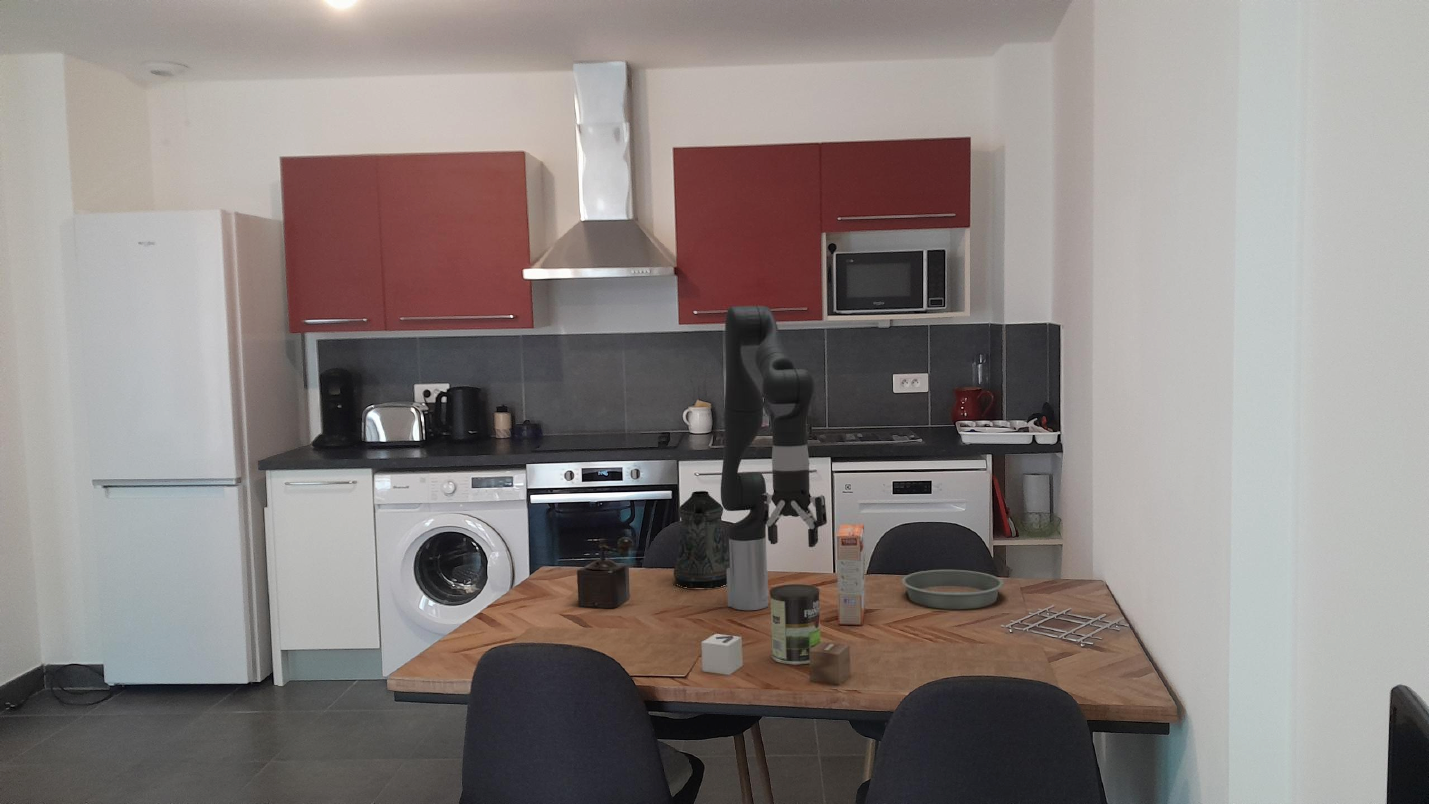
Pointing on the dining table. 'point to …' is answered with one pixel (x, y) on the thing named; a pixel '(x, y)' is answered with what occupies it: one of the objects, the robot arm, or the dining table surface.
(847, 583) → the cracker box
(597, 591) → the manual coffee grinder
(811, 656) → the walnut block
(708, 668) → the offwhite block
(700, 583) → the dark ornate jug
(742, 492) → the robot arm
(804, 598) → the coffee can
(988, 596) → the cake pan
